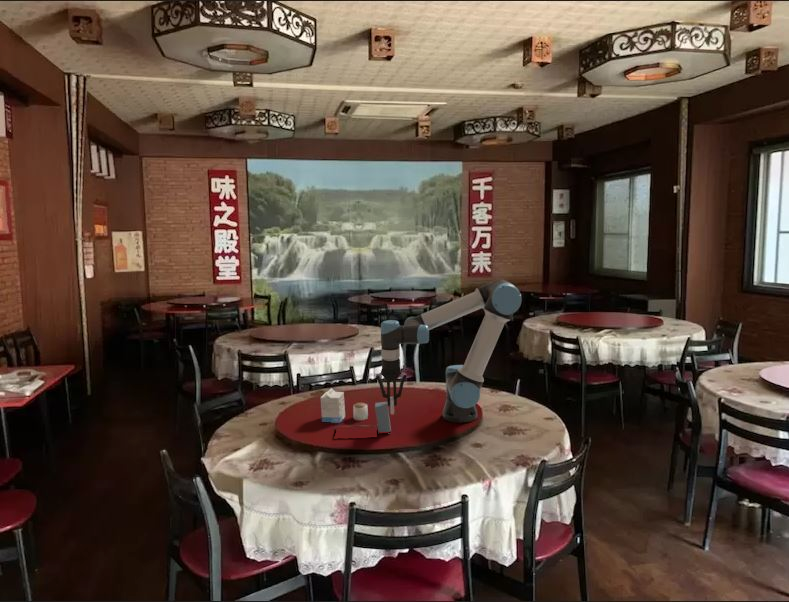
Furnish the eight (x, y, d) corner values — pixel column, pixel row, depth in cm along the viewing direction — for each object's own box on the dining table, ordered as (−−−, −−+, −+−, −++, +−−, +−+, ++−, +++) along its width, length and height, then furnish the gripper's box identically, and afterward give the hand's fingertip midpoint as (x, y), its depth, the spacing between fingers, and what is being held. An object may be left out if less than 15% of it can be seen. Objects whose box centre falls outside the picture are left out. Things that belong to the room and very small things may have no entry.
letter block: (390, 428, 249) (387, 401, 247) (390, 433, 245) (387, 405, 242) (379, 429, 250) (375, 403, 247) (378, 434, 245) (375, 407, 242)
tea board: (378, 426, 253) (378, 424, 253) (377, 438, 241) (377, 435, 241) (336, 428, 253) (336, 426, 253) (333, 439, 241) (333, 437, 241)
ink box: (340, 423, 258) (338, 394, 255) (321, 422, 260) (319, 393, 257) (345, 416, 266) (344, 387, 264) (327, 415, 268) (326, 387, 265)
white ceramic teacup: (368, 414, 267) (367, 401, 266) (367, 420, 261) (367, 406, 260) (354, 415, 267) (353, 402, 266) (353, 420, 261) (352, 407, 260)
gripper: (406, 355, 245) (407, 409, 249) (375, 356, 245) (376, 410, 249) (406, 360, 238) (408, 416, 242) (374, 361, 238) (376, 416, 242)
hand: (392, 413), depth 246 cm, fingers closed
